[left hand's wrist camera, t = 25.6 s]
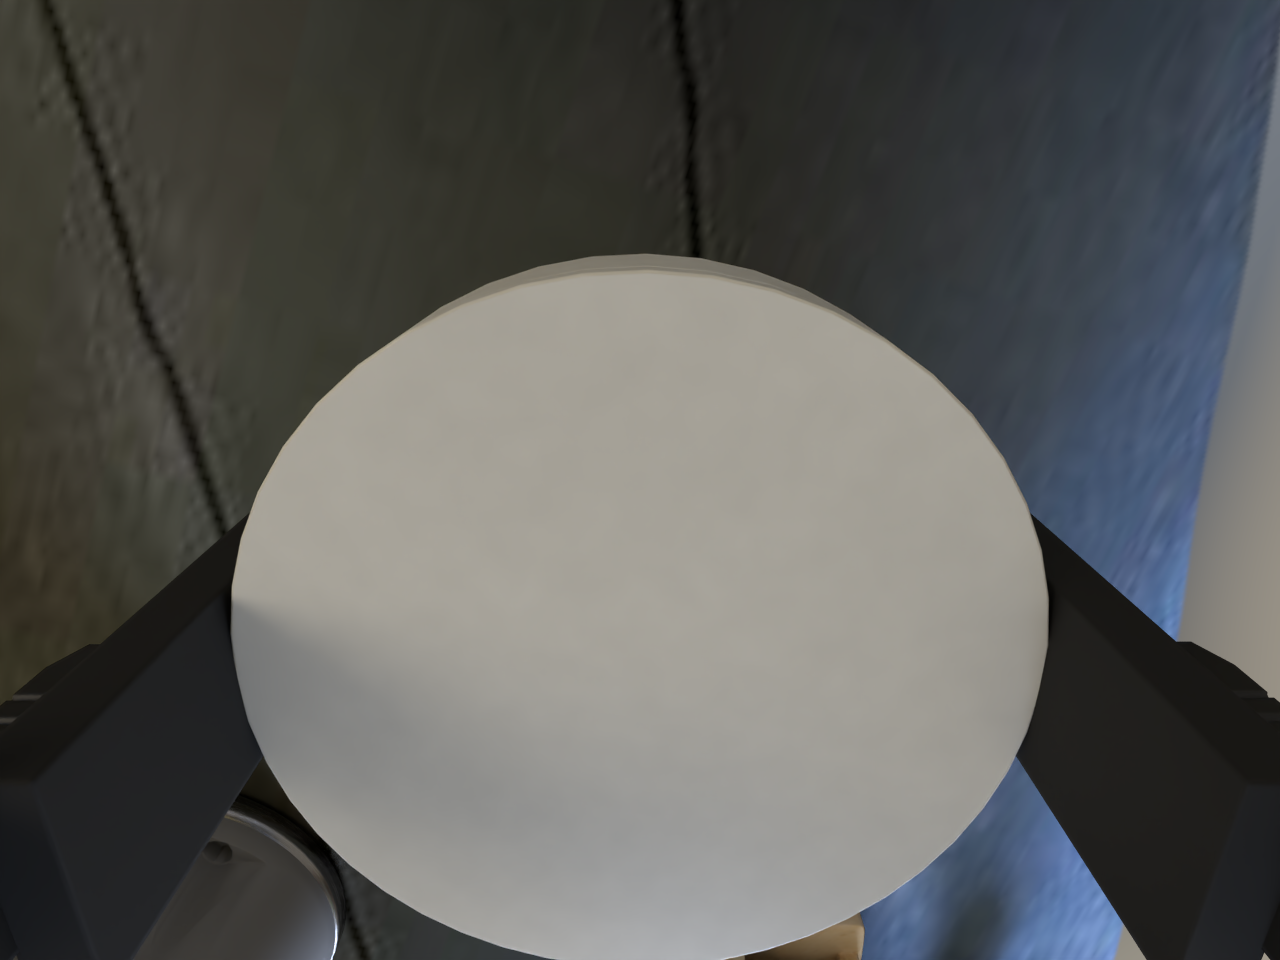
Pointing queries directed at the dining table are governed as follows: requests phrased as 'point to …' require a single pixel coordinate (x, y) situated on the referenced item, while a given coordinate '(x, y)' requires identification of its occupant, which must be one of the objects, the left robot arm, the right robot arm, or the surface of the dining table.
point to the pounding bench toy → (820, 944)
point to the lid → (639, 613)
